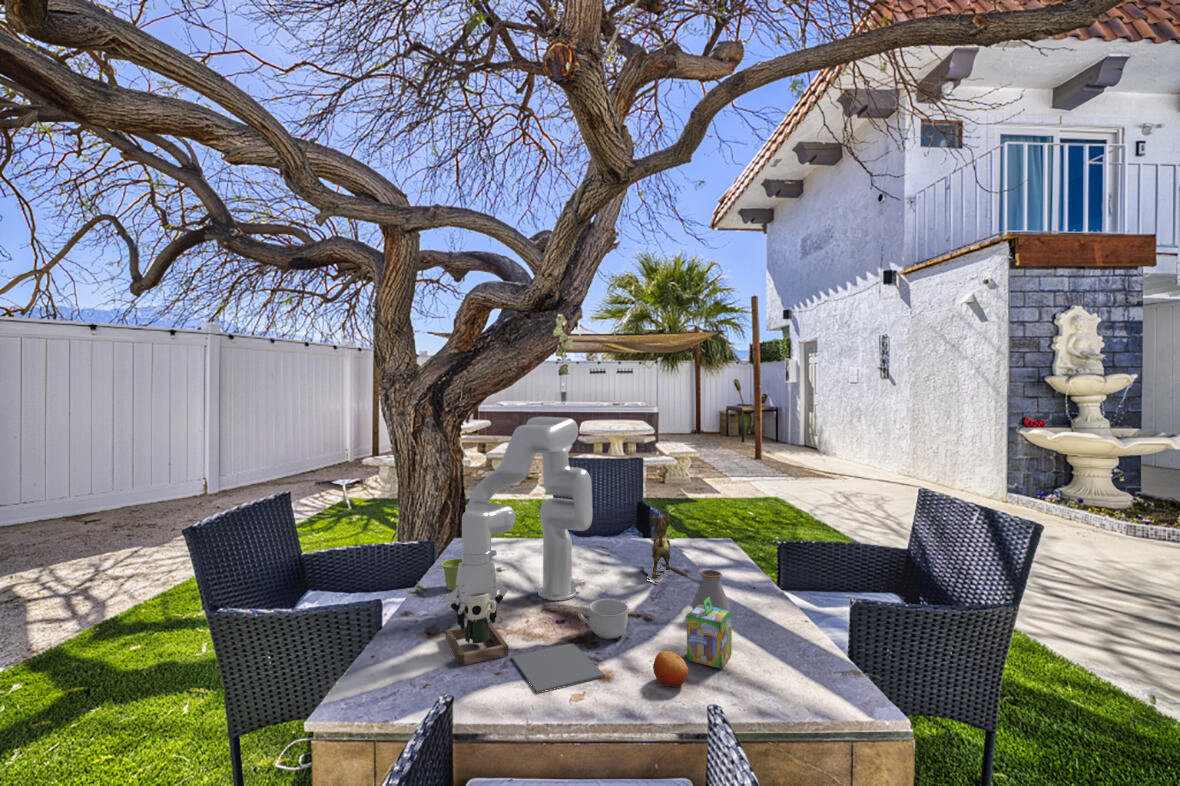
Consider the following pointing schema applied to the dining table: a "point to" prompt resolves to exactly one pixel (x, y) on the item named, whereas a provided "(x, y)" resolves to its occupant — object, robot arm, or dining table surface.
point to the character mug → (478, 617)
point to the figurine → (660, 544)
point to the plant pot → (451, 572)
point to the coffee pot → (707, 588)
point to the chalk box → (709, 635)
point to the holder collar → (476, 655)
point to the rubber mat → (556, 667)
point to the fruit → (670, 669)
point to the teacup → (606, 617)
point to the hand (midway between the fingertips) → (477, 623)
